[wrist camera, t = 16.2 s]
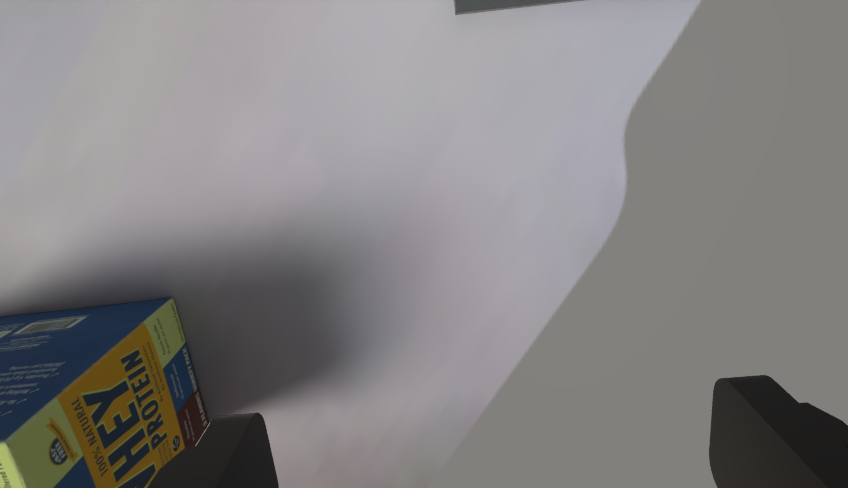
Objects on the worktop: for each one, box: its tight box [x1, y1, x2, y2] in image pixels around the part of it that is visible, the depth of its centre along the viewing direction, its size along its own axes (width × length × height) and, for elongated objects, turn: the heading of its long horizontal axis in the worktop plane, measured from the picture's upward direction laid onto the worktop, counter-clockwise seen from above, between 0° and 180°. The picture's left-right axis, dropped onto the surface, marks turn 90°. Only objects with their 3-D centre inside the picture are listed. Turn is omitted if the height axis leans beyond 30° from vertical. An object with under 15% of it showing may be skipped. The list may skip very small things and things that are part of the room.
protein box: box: [0, 298, 209, 488], centre depth 32 cm, size 10×15×16 cm
